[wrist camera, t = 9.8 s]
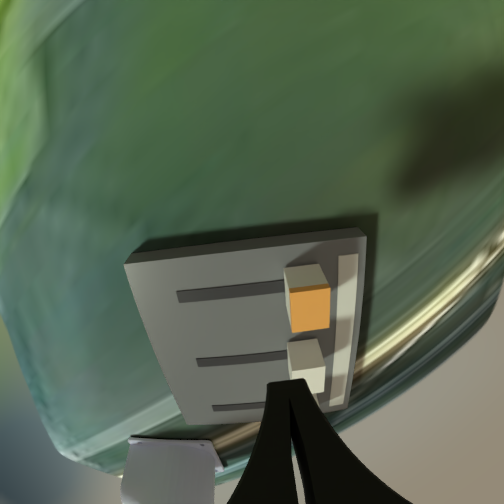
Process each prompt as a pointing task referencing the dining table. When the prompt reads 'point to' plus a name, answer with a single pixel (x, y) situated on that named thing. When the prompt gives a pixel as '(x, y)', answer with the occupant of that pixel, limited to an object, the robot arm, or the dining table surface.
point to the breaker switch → (307, 298)
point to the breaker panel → (248, 321)
